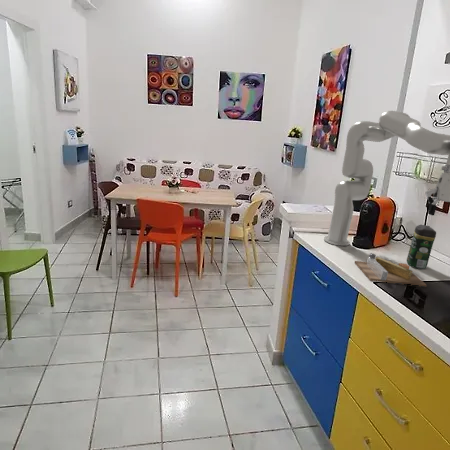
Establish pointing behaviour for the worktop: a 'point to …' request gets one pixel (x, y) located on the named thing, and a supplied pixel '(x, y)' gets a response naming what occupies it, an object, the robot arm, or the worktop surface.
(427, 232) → the coffee jar
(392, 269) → the tong jaw
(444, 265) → the worktop surface
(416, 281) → the board
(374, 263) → the tongs base
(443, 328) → the worktop surface
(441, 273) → the worktop surface
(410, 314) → the worktop surface
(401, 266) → the lock tab
